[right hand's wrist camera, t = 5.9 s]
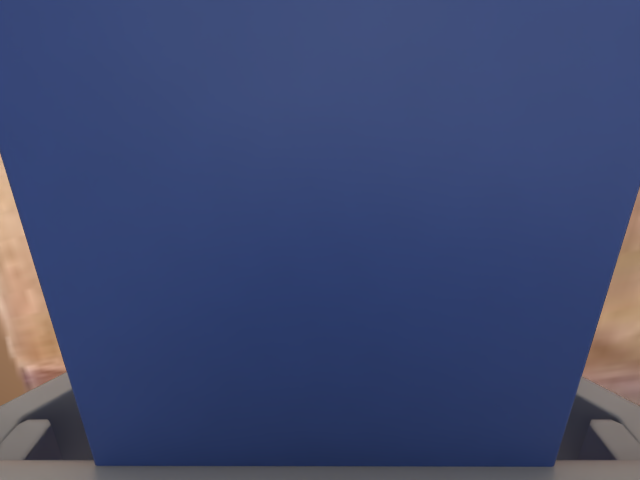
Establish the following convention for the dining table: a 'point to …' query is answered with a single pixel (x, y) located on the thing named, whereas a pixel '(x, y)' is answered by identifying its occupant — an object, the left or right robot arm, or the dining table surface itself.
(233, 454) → the box
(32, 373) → the dining table surface
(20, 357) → the dining table surface
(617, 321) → the dining table surface
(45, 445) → the right robot arm
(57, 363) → the dining table surface
